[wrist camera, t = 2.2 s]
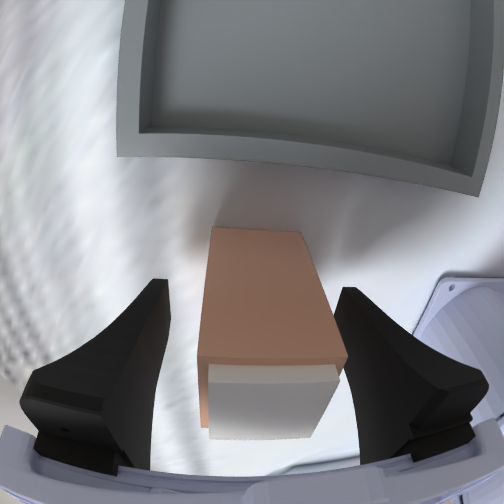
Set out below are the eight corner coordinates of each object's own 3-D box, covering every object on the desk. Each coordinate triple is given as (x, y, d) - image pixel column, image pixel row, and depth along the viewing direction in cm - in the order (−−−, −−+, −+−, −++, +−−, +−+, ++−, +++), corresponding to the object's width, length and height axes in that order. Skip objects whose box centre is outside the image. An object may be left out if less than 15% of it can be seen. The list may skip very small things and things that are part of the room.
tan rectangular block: (300, 232, 14) (354, 373, 7) (287, 301, 16) (316, 440, 9) (212, 226, 14) (195, 373, 7) (209, 297, 16) (200, 441, 9)
